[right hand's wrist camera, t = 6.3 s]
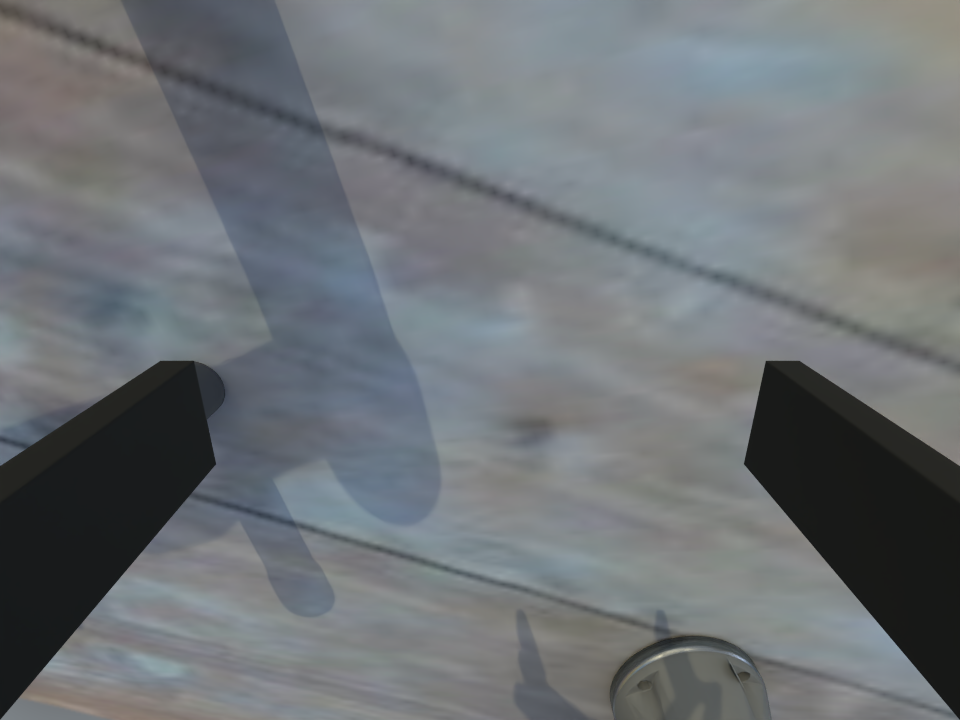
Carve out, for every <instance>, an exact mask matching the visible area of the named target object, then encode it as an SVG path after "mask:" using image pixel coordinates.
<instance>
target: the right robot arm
mask: <svg viewBox="0 0 960 720" xmlns="http://www.w3.org/2000/svg"><path fill="white" fill-rule="evenodd" d="M215 465H216V462H215V457H214V452H213V448H212V443H211V438H210V434H209V429H208V424H207V419H206V415H205V410H204V405H203V401H202V396H201V391H200V387H199V382H198V377H197V373H196V368H195V363H194V361H160V362H158V363H157V364H155V365H154V366H152V367H151V368H149V369H148V370H146V371H145V372H143V373H142V374H140V375H138V376H137V377H135V378H134V379H132V380H131V381H129V382H128V383H126V384H125V385H123V386H122V387H120V388H119V389H117V390H116V391H114V392H113V393H111V394H110V395H108V396H106V397H105V398H103V399H102V400H100V401H99V402H97V403H96V404H94V405H93V406H91V407H90V408H88V409H87V410H85V411H84V412H82V413H81V414H79V415H77V416H76V417H74V418H73V419H71V420H70V421H68V422H67V423H65V424H64V425H62V426H61V427H59V428H58V429H56V430H55V431H53V432H52V433H50V434H49V435H47V436H45V437H44V438H42V439H41V440H39V441H38V442H36V443H35V444H33V445H32V446H30V447H29V448H27V449H26V450H24V451H23V452H21V453H20V454H18V455H17V456H15V457H13V458H12V459H10V460H9V461H7V462H6V463H4V464H3V465H1V466H0V719H1V718H2V717H3V716H4V714H5V713H6V712H7V711H8V710H9V709H10V707H11V706H12V705H13V704H14V703H15V701H16V700H17V699H18V698H19V697H20V696H21V694H22V693H23V692H24V691H25V690H26V688H27V687H28V686H29V685H30V684H31V683H32V681H33V680H34V679H35V678H36V677H37V675H38V674H39V673H40V672H41V671H42V670H43V668H44V667H45V666H46V665H47V664H48V662H49V661H50V660H51V659H52V658H53V656H54V655H55V654H56V653H57V652H58V651H59V649H60V648H61V647H62V646H63V645H64V643H65V642H66V641H67V640H68V639H69V638H70V636H71V635H72V634H73V633H74V632H75V630H76V629H77V628H78V627H79V626H80V625H81V623H82V622H83V621H84V620H85V619H86V617H87V616H88V615H89V614H90V613H91V611H92V610H93V609H94V608H95V607H96V606H97V604H98V603H99V602H100V601H101V600H102V598H103V597H104V596H105V595H106V594H107V593H108V591H109V590H110V589H111V588H112V587H113V585H114V584H115V583H116V582H117V581H118V580H119V578H120V577H121V576H122V575H123V574H124V572H125V571H126V570H127V569H128V568H129V566H130V565H131V564H132V563H133V562H134V561H135V559H136V558H137V557H138V556H139V555H140V553H141V552H142V551H143V550H144V549H145V548H146V546H147V545H148V544H149V543H150V542H151V540H152V539H153V538H154V537H155V536H156V535H157V533H158V532H159V531H160V530H161V529H162V527H163V526H164V525H165V524H166V523H167V521H168V520H169V519H170V518H171V517H172V516H173V514H174V513H175V512H176V511H177V510H178V508H179V507H180V506H181V505H182V504H183V503H184V501H185V500H186V499H187V498H188V497H189V495H190V494H191V493H192V492H193V491H194V490H195V488H196V487H197V486H198V485H199V484H200V482H201V481H202V480H203V479H204V478H205V476H206V475H207V474H208V473H209V472H210V471H211V469H212V468H213V467H214V466H215ZM744 465H745V466H746V467H747V468H748V469H749V471H750V472H751V473H752V474H753V475H754V476H755V478H756V479H757V480H758V481H759V482H760V484H761V485H762V486H763V487H764V488H765V490H766V491H767V492H768V493H769V494H770V495H771V497H772V498H773V499H774V500H775V501H776V503H777V504H778V505H779V506H780V507H781V508H782V510H783V511H784V512H785V513H786V514H787V516H788V517H789V518H790V519H791V520H792V521H793V523H794V524H795V525H796V526H797V527H798V529H799V530H800V531H801V532H802V533H803V535H804V536H805V537H806V538H807V539H808V540H809V542H810V543H811V544H812V545H813V546H814V548H815V549H816V550H817V551H818V552H819V553H820V555H821V556H822V557H823V558H824V559H825V561H826V562H827V563H828V564H829V565H830V566H831V568H832V569H833V570H834V571H835V572H836V574H837V575H838V576H839V577H840V578H841V580H842V581H843V582H844V583H845V584H846V585H847V587H848V588H849V589H850V590H851V591H852V593H853V594H854V595H855V596H856V597H857V598H858V600H859V601H860V602H861V603H862V604H863V606H864V607H865V608H866V609H867V610H868V611H869V613H870V614H871V615H872V616H873V617H874V619H875V620H876V621H877V622H878V623H879V625H880V626H881V627H882V628H883V629H884V630H885V632H886V633H887V634H888V635H889V636H890V638H891V639H892V640H893V641H894V642H895V643H896V645H897V646H898V647H899V648H900V649H901V651H902V652H903V653H904V654H905V655H906V656H907V658H908V659H909V660H910V661H911V662H912V664H913V665H914V666H915V667H916V668H917V670H918V671H919V672H920V673H921V674H922V675H923V677H924V678H925V679H926V680H927V681H928V683H929V684H930V685H931V686H932V687H933V688H934V690H935V691H936V692H937V693H938V694H939V696H940V697H941V698H942V699H943V700H944V701H945V703H946V704H947V705H948V706H949V707H950V709H951V710H952V711H953V712H954V713H955V714H956V716H957V717H958V718H959V719H960V466H959V465H957V464H956V463H954V462H953V461H951V460H950V459H948V458H947V457H945V456H943V455H942V454H940V453H939V452H937V451H936V450H934V449H933V448H931V447H930V446H928V445H927V444H925V443H924V442H922V441H921V440H919V439H918V438H916V437H915V436H913V435H911V434H910V433H908V432H907V431H905V430H904V429H902V428H901V427H899V426H898V425H896V424H895V423H893V422H892V421H890V420H889V419H887V418H886V417H884V416H883V415H881V414H879V413H878V412H876V411H875V410H873V409H872V408H870V407H869V406H867V405H866V404H864V403H863V402H861V401H860V400H858V399H857V398H855V397H854V396H852V395H850V394H849V393H847V392H846V391H844V390H843V389H841V388H840V387H838V386H837V385H835V384H834V383H832V382H831V381H829V380H828V379H826V378H825V377H823V376H822V375H820V374H818V373H817V372H815V371H814V370H812V369H811V368H809V367H808V366H806V365H805V364H803V363H802V362H800V361H766V363H765V368H764V373H763V377H762V382H761V387H760V391H759V396H758V401H757V405H756V410H755V415H754V419H753V424H752V429H751V434H750V438H749V443H748V448H747V452H746V457H745V462H744ZM610 702H611V706H612V710H613V714H614V718H615V720H772V719H771V713H770V708H769V702H768V697H767V692H766V688H765V684H764V682H763V679H762V678H761V676H760V674H759V672H758V670H757V668H756V666H755V664H754V663H753V661H752V660H751V658H750V657H749V656H748V655H747V654H746V653H745V652H744V651H742V650H741V649H740V648H738V647H736V646H735V645H733V644H731V643H728V642H726V641H723V640H719V639H716V638H710V637H701V636H688V637H678V638H673V639H668V640H665V641H661V642H658V643H656V644H653V645H651V646H649V647H647V648H645V649H643V650H641V651H639V652H638V653H636V654H635V655H634V656H632V657H631V658H630V659H629V660H627V661H626V662H625V663H624V664H623V665H622V667H621V668H620V669H619V671H618V672H617V674H616V675H615V677H614V679H613V681H612V685H611V689H610Z"/></svg>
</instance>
